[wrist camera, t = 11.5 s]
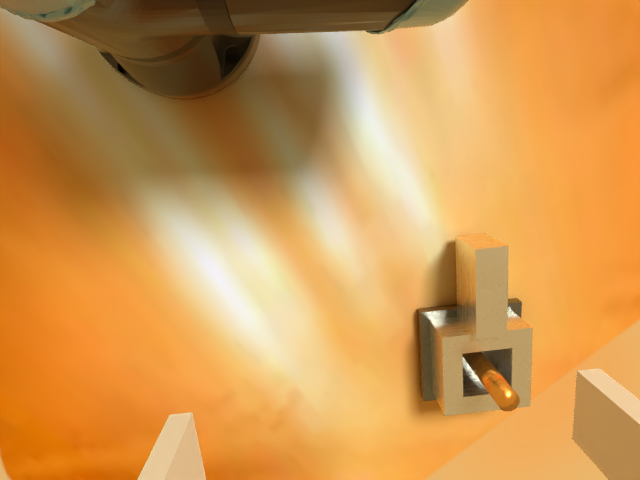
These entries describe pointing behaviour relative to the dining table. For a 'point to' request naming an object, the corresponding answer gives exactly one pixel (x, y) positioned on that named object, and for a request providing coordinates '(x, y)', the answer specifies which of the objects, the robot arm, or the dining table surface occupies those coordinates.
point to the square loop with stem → (480, 331)
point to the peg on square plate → (465, 359)
